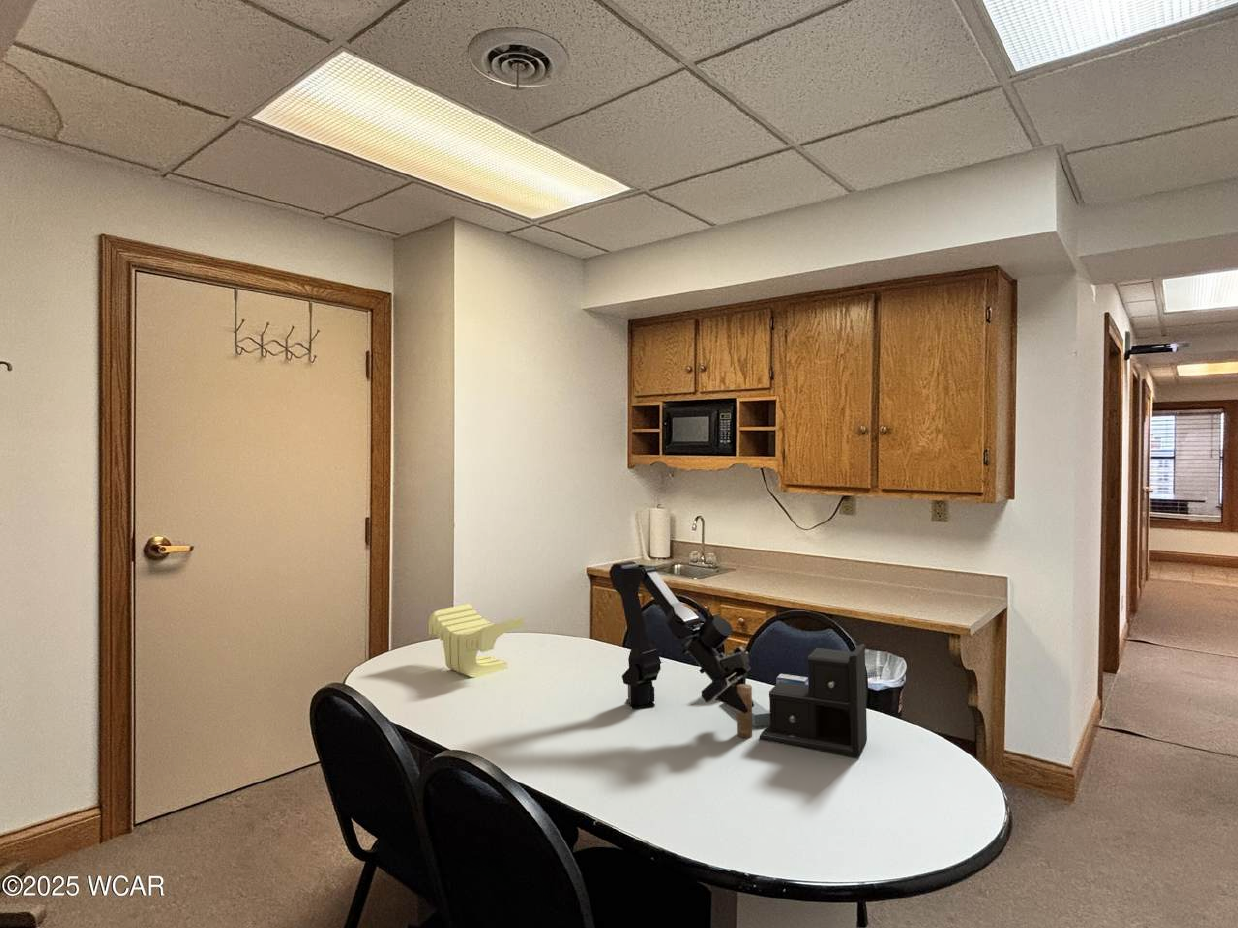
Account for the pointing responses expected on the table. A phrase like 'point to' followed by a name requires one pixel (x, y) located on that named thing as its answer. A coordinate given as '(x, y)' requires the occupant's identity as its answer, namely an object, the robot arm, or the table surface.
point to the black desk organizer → (823, 705)
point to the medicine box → (792, 679)
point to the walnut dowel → (746, 718)
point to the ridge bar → (759, 715)
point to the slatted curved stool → (469, 639)
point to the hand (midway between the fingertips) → (749, 709)
